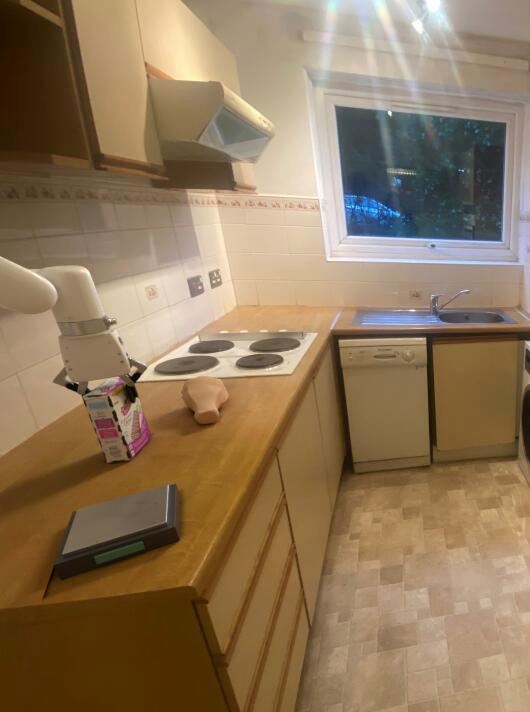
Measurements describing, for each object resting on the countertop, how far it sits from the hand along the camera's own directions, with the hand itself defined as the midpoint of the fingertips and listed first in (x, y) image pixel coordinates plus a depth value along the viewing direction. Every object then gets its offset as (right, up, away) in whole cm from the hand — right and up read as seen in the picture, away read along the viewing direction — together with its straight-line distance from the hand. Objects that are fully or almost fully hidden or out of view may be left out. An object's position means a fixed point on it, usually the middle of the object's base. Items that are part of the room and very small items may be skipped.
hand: (114, 404), depth 97 cm
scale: (+22, -22, -21) cm, 37 cm away
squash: (+5, -3, +24) cm, 25 cm away
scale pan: (+22, -19, -22) cm, 36 cm away
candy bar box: (0, -11, +5) cm, 12 cm away
